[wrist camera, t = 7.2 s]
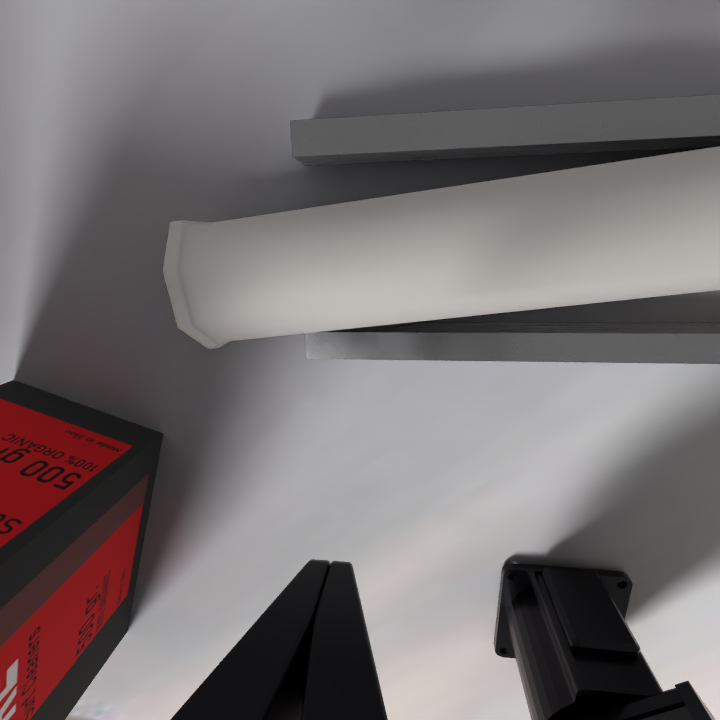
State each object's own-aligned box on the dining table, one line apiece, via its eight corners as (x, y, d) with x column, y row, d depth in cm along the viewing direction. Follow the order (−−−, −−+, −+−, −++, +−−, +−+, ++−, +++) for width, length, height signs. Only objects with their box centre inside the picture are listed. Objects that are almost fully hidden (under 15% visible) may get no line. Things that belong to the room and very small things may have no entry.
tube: (1012, 56, 10) (155, 196, 14) (1040, 254, 10) (166, 346, 14) (811, 161, 16) (227, 243, 19) (827, 292, 16) (235, 351, 19)
